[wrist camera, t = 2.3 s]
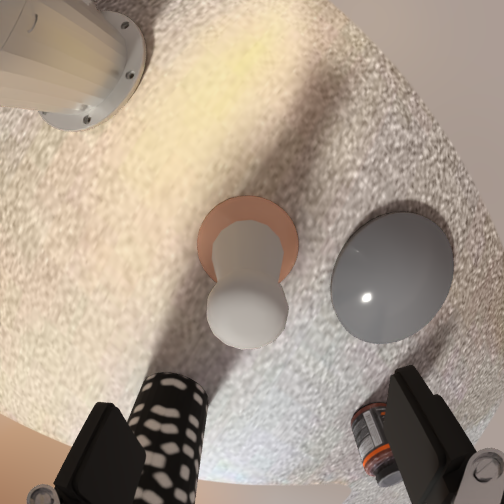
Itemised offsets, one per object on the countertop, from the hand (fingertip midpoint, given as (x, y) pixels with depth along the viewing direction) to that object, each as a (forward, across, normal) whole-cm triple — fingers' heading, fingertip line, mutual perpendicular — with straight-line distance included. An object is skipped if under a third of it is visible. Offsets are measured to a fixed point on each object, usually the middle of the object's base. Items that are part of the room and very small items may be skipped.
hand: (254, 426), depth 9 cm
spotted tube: (+20, +12, +16) cm, 28 cm away
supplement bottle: (+20, -12, +25) cm, 34 cm away
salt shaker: (+20, 0, -1) cm, 20 cm away
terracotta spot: (+19, 0, -1) cm, 19 cm away
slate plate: (+20, -14, +5) cm, 24 cm away
